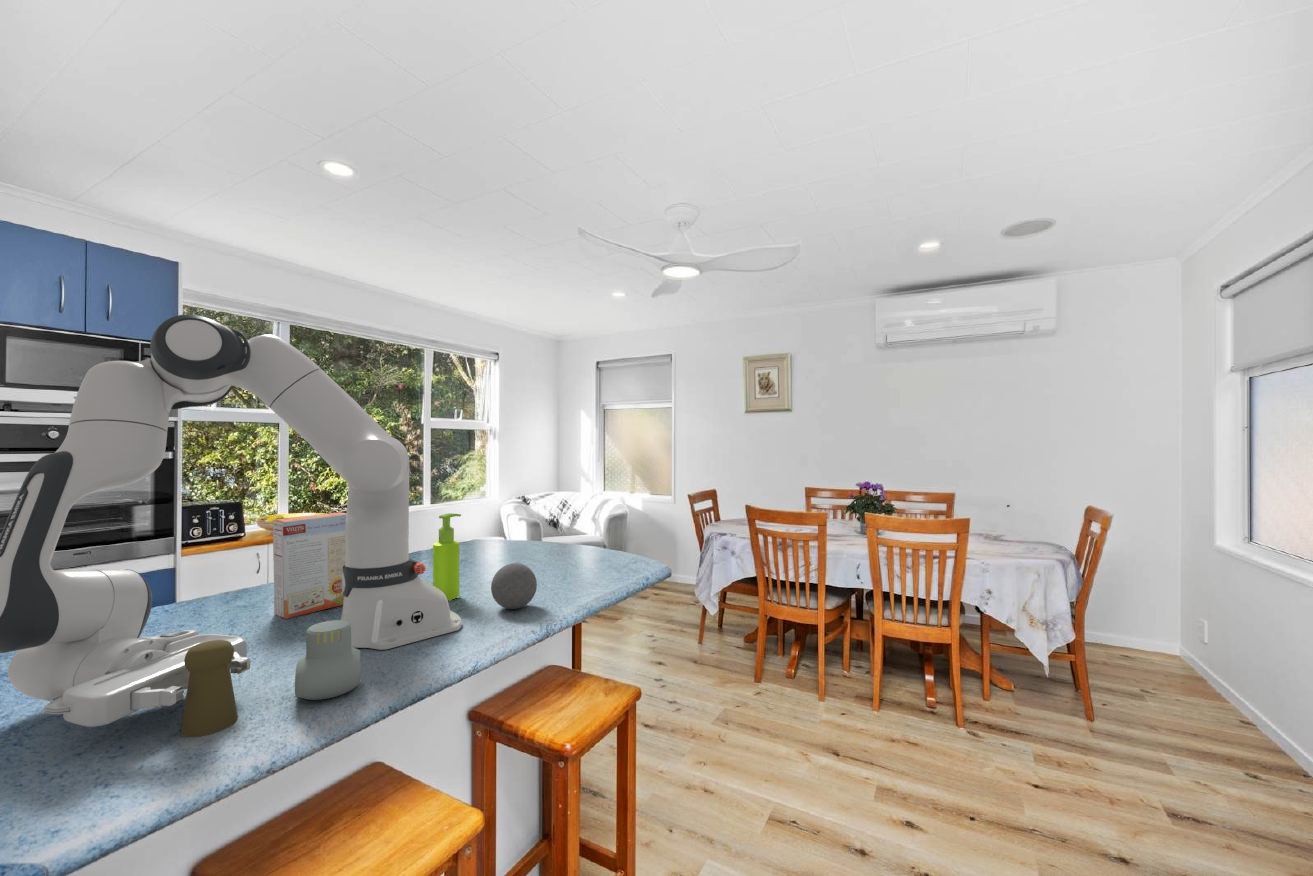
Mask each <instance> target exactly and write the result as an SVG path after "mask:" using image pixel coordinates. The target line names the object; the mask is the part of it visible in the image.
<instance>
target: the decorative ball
mask: <svg viewBox="0 0 1313 876" xmlns="http://www.w3.org/2000/svg"><path fill="white" fill-rule="evenodd" d="M537 582H538V581H537V577H536V575H535V573H534V572H533V571H532V569H531V568H530V567H528V566H526V565H525V564H522V563H516V562H515V563H509V564H506V565H503V566H502V567H501V568H500V569H498V570H497V572H496V573H495V574H494V576H493V577H492V579H491V587H490V591H491V595H492V598H493V599H494V601H495V602H496V603H497V604H498V605H499V606H500V607H502V608H504V609H507V610H518V609H521V608H524V607H525V606H526V605H528V604H529V603H530V602H531V601H532V599H534V596H535V595H536V592H537V587H538V586H537V585H538V583H537Z"/></svg>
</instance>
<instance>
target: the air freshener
mask: <svg viewBox="0 0 1313 876" xmlns="http://www.w3.org/2000/svg"><path fill="white" fill-rule="evenodd" d="M305 634H306V635H305V637H306V639H305V640H306V641H305V642H306V643H305V644H306V647H305V650H306V651H305V653H306V654H305V655H303V656H302V657H300V658H299V659H298V660H296V665H295V673H294V675H295V677H294V695H295V696H297V697H298V698H301V699H305V700H310V701H320V700H328V699H332V698H336V697H339V696H341V695H345V694H346V693H348V692H350V691H352V690H353V689H355V688H356V687H357V686H359V685H360V684H361V681H362V680H361V675H362V674H361V650H360V649H358V648H354V647H351V624H350V623H349V622H348V621H344V620H341V619H335V620H327V621H323V622H317V623H315V624H312V625H311V626H309V628H307V629H306V633H305Z"/></svg>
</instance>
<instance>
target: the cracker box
mask: <svg viewBox="0 0 1313 876" xmlns="http://www.w3.org/2000/svg"><path fill="white" fill-rule="evenodd" d="M346 513H347V512H346ZM346 513H345V512H341V511H338V512H332V513H331V512H330V513H322V514H321V513H320V514H311V515H310V514H309V515H300V516H293V517H284V518H278V519H276V518H275V519H274V520H272V543H273V544H272V547H273V548H272V549H273V550H272V551H273V552H272V553H273V555H272V556H273V605H274V607H273V609H274V610H273V611H274V613H273V614H274V615H275V616H278V617H280V618H282V619H284V620H286V619H291V618H294V617H298V616H302V615H303V616H304V615H307V614H310V613H315V612H316V613H317V612H319V611H323V610H326V609H327V610H328V609H332V608H335V607H336V608H337V607H340V606H343V601H344V595H343V592H342V572H343V565H344V564H345V522H346Z"/></svg>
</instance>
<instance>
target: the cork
mask: <svg viewBox="0 0 1313 876" xmlns="http://www.w3.org/2000/svg"><path fill="white" fill-rule="evenodd" d="M233 655H234V647H233V645H232V644H231V643H230V642H229V641H226V640H213V641H207V642H203V643H200V644H197V645H195V646H193V647H192V648H190V649H189V650H188V652H187V653H186V655H185V659H184V664H185V667H186V669H187V670H188V671H189V672H190V675H189V681H188V688H187V689H186V695H185V700H184V707H183V713H182V719H181V726H180V732H179V733H180V735H181V736H182V737H187V738H195V737H196V738H197V737H203V736H204V737H205V736H208V735H212V734H213V735H214V734H215V733H218V732H221V731H224V730H225V729H227V728H230V727H231V726H233V725H234V724H235V723H236V722H238V719H239V715H238V709H237V705H236V704H237V703H236V698H235V692H234V686H233V680H232V675H231V674H232V673H231V672H230V667H229V664H230V662H231V661H232V659H233Z"/></svg>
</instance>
